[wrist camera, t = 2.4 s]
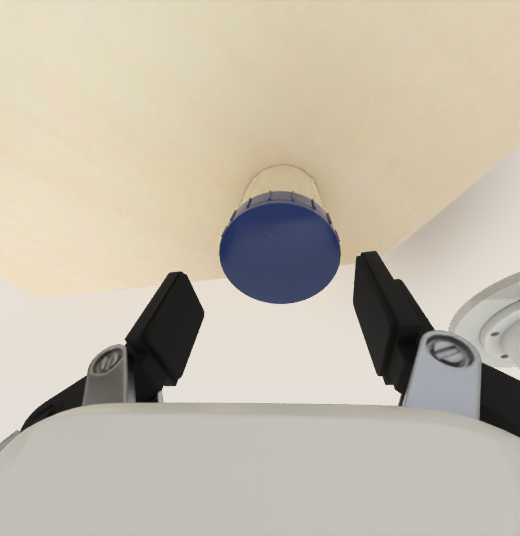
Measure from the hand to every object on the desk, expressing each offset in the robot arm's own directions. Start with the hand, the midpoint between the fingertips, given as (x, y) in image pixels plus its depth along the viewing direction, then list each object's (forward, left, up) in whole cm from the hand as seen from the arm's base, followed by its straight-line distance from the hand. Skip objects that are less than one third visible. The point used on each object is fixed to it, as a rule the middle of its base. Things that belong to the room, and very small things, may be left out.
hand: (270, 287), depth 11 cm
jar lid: (0, 0, -3) cm, 3 cm away
